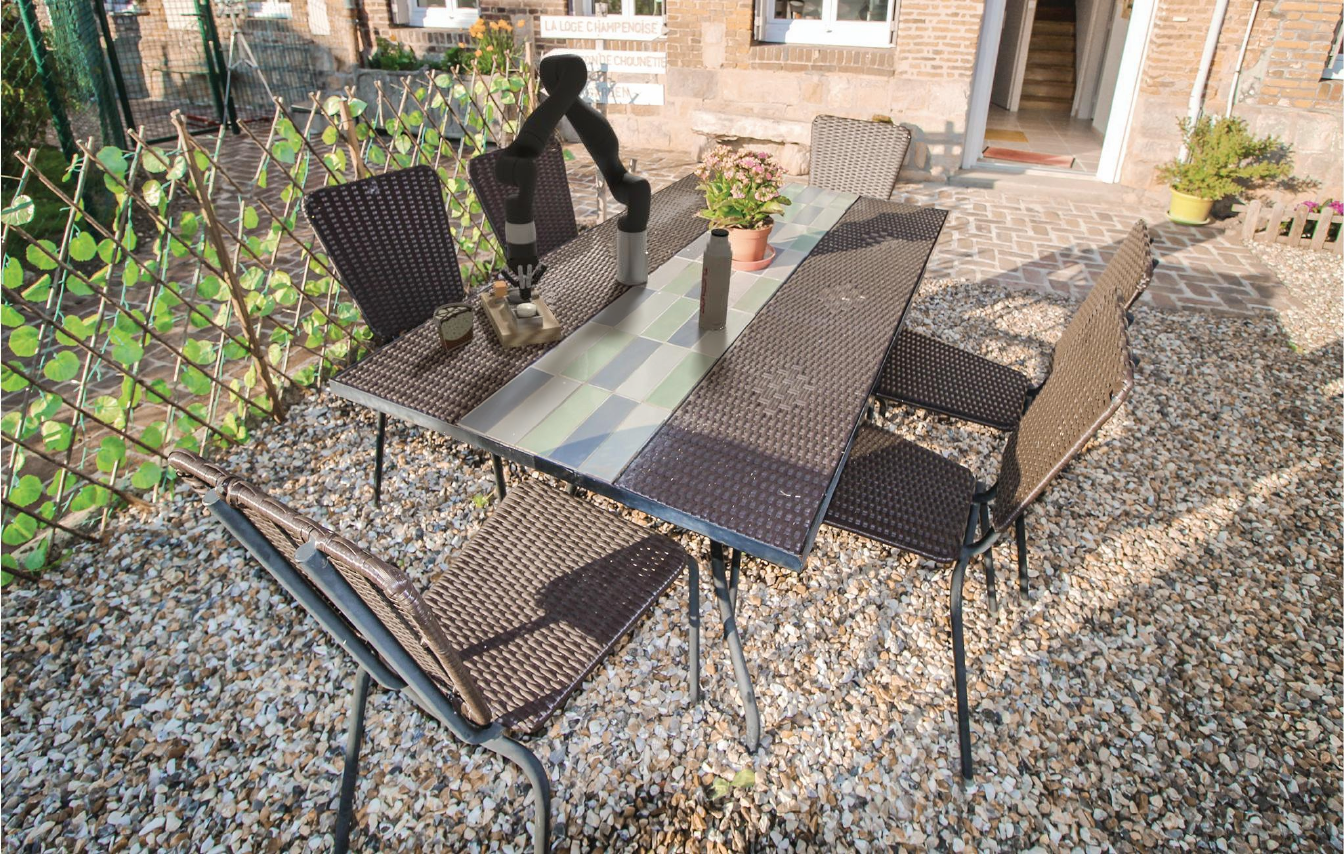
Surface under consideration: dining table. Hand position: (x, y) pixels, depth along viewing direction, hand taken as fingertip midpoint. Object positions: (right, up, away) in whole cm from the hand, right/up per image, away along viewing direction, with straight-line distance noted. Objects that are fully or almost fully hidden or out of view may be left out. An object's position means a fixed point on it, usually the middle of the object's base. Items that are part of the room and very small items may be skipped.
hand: (525, 299), depth 199 cm
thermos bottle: (+51, -4, +17) cm, 54 cm away
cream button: (0, -3, +2) cm, 4 cm away
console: (-4, -4, +13) cm, 14 cm away
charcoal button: (-4, +2, +9) cm, 10 cm away
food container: (-20, -11, +2) cm, 23 cm away
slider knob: (-10, +4, +16) cm, 19 cm away
